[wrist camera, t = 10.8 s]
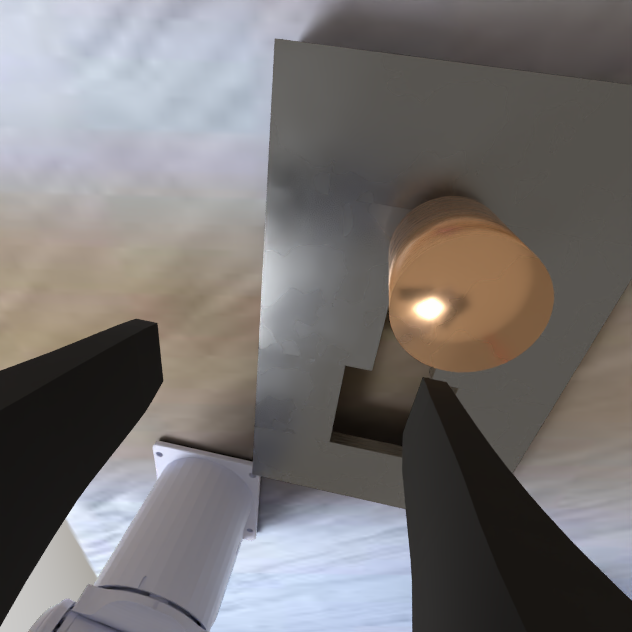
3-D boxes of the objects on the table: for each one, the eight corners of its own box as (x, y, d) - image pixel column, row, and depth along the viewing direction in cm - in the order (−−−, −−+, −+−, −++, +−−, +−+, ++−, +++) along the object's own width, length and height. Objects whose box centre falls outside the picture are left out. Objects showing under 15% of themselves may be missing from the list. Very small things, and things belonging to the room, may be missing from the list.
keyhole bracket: (471, 487, 24) (480, 525, 22) (264, 441, 25) (252, 474, 23) (680, 100, 13) (741, 99, 11) (292, 49, 14) (274, 38, 12)
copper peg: (471, 276, 17) (527, 388, 10) (377, 265, 18) (371, 365, 11) (500, 177, 15) (595, 237, 8) (392, 168, 16) (395, 217, 9)
